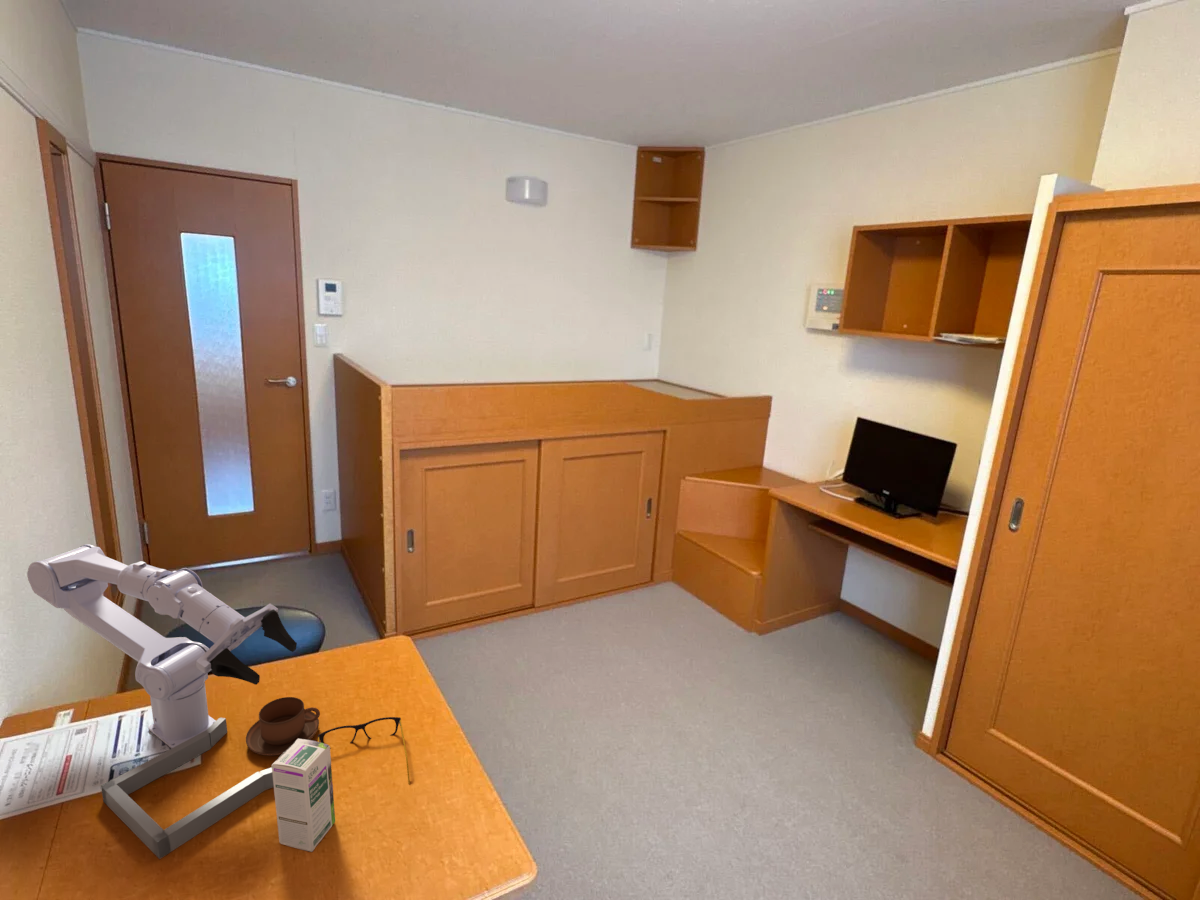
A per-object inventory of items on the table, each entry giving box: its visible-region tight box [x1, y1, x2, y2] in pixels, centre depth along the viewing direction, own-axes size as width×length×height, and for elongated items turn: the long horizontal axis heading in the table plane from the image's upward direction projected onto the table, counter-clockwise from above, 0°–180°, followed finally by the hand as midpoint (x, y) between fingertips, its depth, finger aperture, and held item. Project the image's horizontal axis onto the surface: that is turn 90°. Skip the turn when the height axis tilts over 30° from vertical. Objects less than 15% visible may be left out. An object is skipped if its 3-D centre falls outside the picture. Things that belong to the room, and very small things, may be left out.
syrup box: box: [271, 738, 336, 853], centre depth 93 cm, size 6×6×14 cm
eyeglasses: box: [317, 716, 411, 785], centre depth 108 cm, size 14×14×4 cm
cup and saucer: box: [245, 696, 321, 756], centre depth 113 cm, size 12×12×6 cm
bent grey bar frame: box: [100, 717, 274, 860], centre depth 101 cm, size 21×19×3 cm
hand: (276, 663), depth 104 cm, fingers open, 7 cm apart
